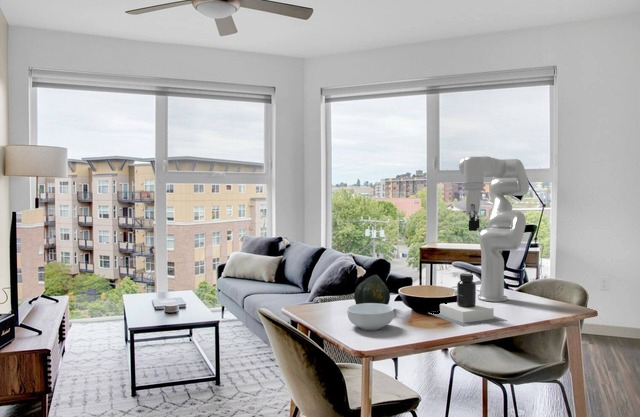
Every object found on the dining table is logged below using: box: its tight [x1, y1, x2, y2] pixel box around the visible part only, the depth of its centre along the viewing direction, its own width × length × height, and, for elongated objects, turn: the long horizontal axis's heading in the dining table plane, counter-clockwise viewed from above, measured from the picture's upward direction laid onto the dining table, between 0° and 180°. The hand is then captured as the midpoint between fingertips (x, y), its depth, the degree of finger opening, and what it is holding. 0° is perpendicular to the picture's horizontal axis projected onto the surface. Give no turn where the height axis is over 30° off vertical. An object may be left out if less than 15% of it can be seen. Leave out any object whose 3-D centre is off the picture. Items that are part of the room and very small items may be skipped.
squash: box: [353, 274, 391, 305], centre depth 209 cm, size 14×15×15 cm
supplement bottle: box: [456, 273, 477, 308], centre depth 194 cm, size 7×7×12 cm
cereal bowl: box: [346, 303, 395, 331], centre depth 183 cm, size 17×17×7 cm
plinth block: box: [439, 301, 495, 323], centre depth 194 cm, size 14×14×4 cm
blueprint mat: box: [428, 312, 508, 327], centre depth 195 cm, size 22×20×1 cm
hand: (474, 229), depth 207 cm, fingers open, 9 cm apart
